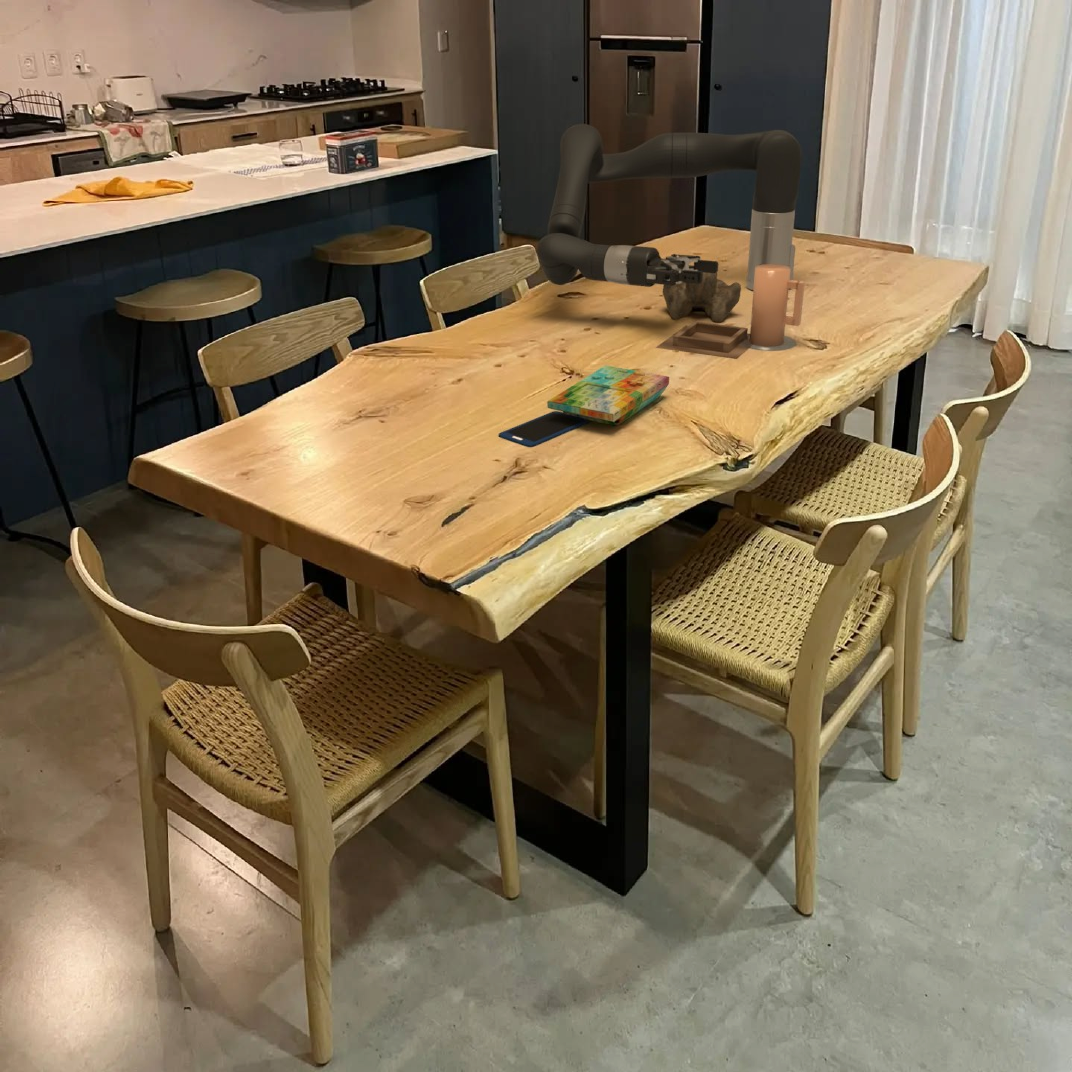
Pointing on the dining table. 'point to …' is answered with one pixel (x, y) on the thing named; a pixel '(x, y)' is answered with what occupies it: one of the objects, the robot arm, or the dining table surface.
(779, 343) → the peach orange tall mug
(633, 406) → the puzzle game
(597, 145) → the robot arm
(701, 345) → the holder
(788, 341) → the grey disc
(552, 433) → the cell phone
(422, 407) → the dining table surface
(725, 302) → the decorative stone
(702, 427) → the dining table surface
